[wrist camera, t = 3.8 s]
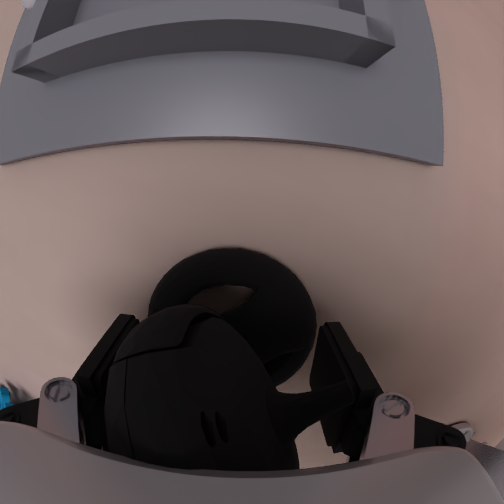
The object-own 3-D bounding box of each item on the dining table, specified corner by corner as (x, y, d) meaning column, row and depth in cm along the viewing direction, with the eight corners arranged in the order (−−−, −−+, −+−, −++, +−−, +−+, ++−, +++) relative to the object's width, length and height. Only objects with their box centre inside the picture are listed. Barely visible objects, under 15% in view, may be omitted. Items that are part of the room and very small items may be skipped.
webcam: (121, 283, 12) (-17, 451, 2) (272, 211, 11) (409, 424, 1) (203, 399, 14) (182, 564, 4) (331, 354, 13) (403, 531, 3)
